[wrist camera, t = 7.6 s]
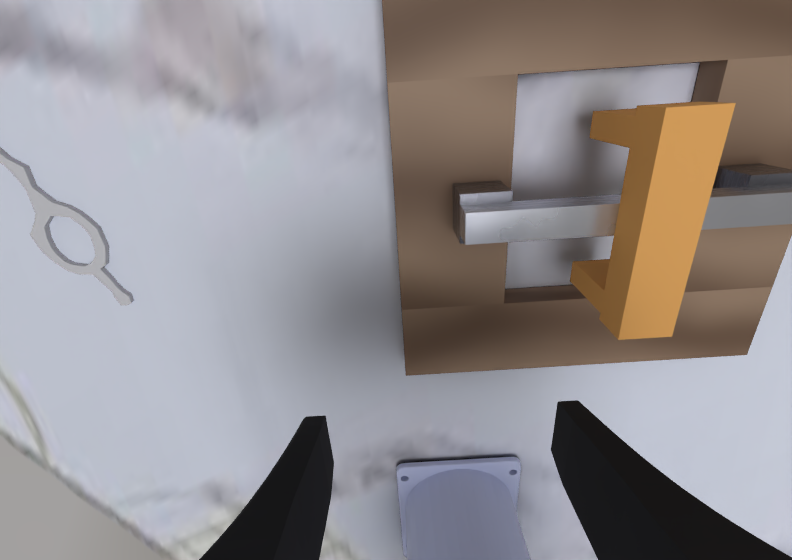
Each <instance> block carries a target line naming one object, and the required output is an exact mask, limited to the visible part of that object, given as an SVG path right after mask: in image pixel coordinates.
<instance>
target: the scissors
mask: <svg viewBox="0 0 792 560" xmlns="http://www.w3.org/2000/svg"><path fill="white" fill-rule="evenodd" d="M0 163H1V164H2V165H4V166H5V167H6V168H7V169H8V170H9V171H10V172H11V173H12V174H13V175H14V176H15V177H16V178H17V180H18V181H19V182H20V183H21V184H22V186H23V187H24V188H25V189H26V192H27V194H28V197H29V199H30V201H31V204H32V206H33V209H34V211H35V213H36V214H35V222H34V225H33V228H32V231H31V234H30V236H31V237H32V239H33V240H34V241H35V243H36V244H37V246H38V247H39V248H40V250H41V251H42V252H43V253H44V254H45V255H46V256H47V257H49V258H50V259H51V260H52V261H53V262H55V263H56V264H58V265H59V266H61V267H62V268H64V269H65V270H67V271H70V272H73V273H76V274H84V275H94V276H95V277H96V278H97V279H98V280H99V281H100V282H101V283H103V284H104V285H105V286H106V287H107V288H108V289H109V290H110V291H111V292H112V293H113V295H114V297H115V298H116V300H117V301H118V302H119V303H120V305H129V304H130V303H132V302H133V301H134V299H133V296H132V294H131V293H130V292H128V291H127V290H125V289H124V288H123V287H122V286H121V285H120V284H119V283H118V282H117V281H116V279H115V278H114V277H113V276H112V275H111V274H110V273H109V272H108V271H107V270H106V269H105V268H104V266H105V265H107V264H108V263H109V244H108V242H107V240H106V238H105V235H104V233H103V231H102V229H101V227H100V226H99V225H98V224H97V223H96V222H95V221H94V220H93V219H91V218H90V217H89V216H88V215H86V214H85V213H84V212H82V211H81V210H79V209H77V208H75V207H73V206H71V205H68V204H65V203H62V202H59V201H56V200H55V199H54V198H52V197H51V196H50V195H49V194H47V193H46V192H45V191H43V190H42V189H41V188H40V187H38V186H37V184H36V182H35V180H34V177H33V175H32V172H31V170H30V167H29V166H27V165H26V164H24V163H22V162H20V161H18V160H16V159H14V158H12V157H11V156H10V155H9V154H7V153H6V152H5V151H4V150H3V149H2V148H1V147H0ZM54 216H59V217H70V218H71V219H73V220H74V221H75V222H77V223H78V224H80V225H81V226H82V227H83V228H84V229H85V230H86V231H87V233H88V234H89V236H90V237H91V240H92V242H93V245H94V249H95V258H94V260H93V261H92V262H91V263H90V264H82V263H76V262H73V261H71V260H69V259H68V258H67V257H65V256H64V255H63V254H62V253H61V252H60V251H59V250H58V248H57V247H56V245H55V243H54V241H53V239H52V237H51V233H50V228H49V224H50V222H51V221H52V219H53V217H54Z"/></svg>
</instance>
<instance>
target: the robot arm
mask: <svg viewBox="0 0 792 560" xmlns="http://www.w3.org/2000/svg"><path fill="white" fill-rule="evenodd" d="M551 451H552V454H553V457H554V461H555V464H556V467H557V470H558V473H559V475H560V478H561V481H562V484H563V486H564V488H565V490H566V493H567V495H568V497H569V499H570V501H571V503H572V505H573V507H574V510H575V512H576V514H577V516H578V518H579V520H580V522H581V524H582V526H583V529H584V531H585V533H586V535H587V537H588V539H589V541H590V543H591V545H592V548H593V550H594V552H595V554H596V556H597V558H598V560H792V557H790V556H788V555H786V554H785V553H783V552H781V551H780V550H778V549H776V548H774V547H773V546H771V545H769V544H767V543H766V542H764V541H762V540H761V539H759V538H757V537H756V536H754V535H752V534H751V533H749V532H748V531H746V530H744V529H743V528H741V527H739V526H738V525H736V524H734V523H733V522H731V521H730V520H728V519H727V518H725V517H724V516H722V515H720V514H719V513H717V512H716V511H714V510H713V509H711V508H710V507H709V506H707V505H706V504H704V503H703V502H701V501H700V500H698V499H697V498H695V497H694V496H693V495H691V494H690V493H688V492H687V491H685V490H684V489H683V488H681V487H680V486H679V485H677V484H676V483H675V482H673V481H672V480H671V479H669V478H668V477H667V476H665V475H664V474H663V473H662V472H660V471H659V470H658V469H656V468H655V467H654V466H653V465H651V464H650V463H649V462H648V461H646V460H645V459H644V458H643V457H641V456H640V455H639V454H638V453H637V452H636V451H634V450H633V449H632V448H631V447H630V446H628V445H627V444H626V443H625V442H624V441H623V440H621V439H620V438H619V437H618V436H617V435H616V434H615V433H613V432H612V431H611V430H610V429H609V428H608V427H607V426H606V425H604V424H603V423H602V422H601V421H600V420H599V419H598V418H597V417H596V416H594V415H593V414H592V413H591V412H590V411H589V410H588V409H587V408H586V407H584V406H583V405H582V404H581V403H580V402H579V401H561V402H558V404H557V411H556V418H555V425H554V433H553V440H552V447H551ZM333 467H334V461H333V455H332V450H331V444H330V438H329V433H328V427H327V422H326V416H312V417H305V418H304V419H303V421H302V422H301V424H300V426H299V428H298V429H297V431H296V433H295V435H294V436H293V438H292V440H291V441H290V443H289V445H288V446H287V448H286V449H285V451H284V453H283V454H282V456H281V457H280V459H279V460H278V462H277V463H276V465H275V466H274V468H273V469H272V471H271V472H270V474H269V475H268V477H267V478H266V480H265V481H264V482H263V484H262V485H261V486H260V488H259V489H258V490H257V492H256V493H255V494H254V496H253V497H252V499H251V500H250V501H249V503H248V504H247V505H246V506H245V508H244V509H243V510H242V511H241V513H240V514H239V515H238V516H237V518H236V519H235V520H234V521H233V523H232V524H231V525H230V526H229V527H228V528H227V530H226V531H225V532H224V533H223V534H222V535H221V537H220V538H219V539H218V540H217V541H216V542H215V543H214V544H213V545H212V546H211V547H210V549H209V550H208V551H207V552H206V553H205V554H204V555H203V556H202V557H201V558H200V559H199V560H319V557H320V552H321V546H322V541H323V536H324V531H325V526H326V521H327V515H328V510H329V505H330V499H331V491H332V480H333ZM520 472H521V463H520V460H519V459H518V458H516V457H499V458H482V459H465V460H448V461H431V462H414V463H402V464H399V465H398V466H397V468H396V474H397V485H398V497H399V508H400V520H401V531H402V543H403V554H404V556H405V557H406V558H408V560H531V559H530V556H529V553H528V549H527V546H526V543H525V540H524V536H523V533H522V530H521V526H520V523H519V520H518V517H517V513H516V512H517V502H518V492H519V482H520Z"/></svg>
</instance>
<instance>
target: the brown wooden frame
mask: <svg viewBox="0 0 792 560" xmlns="http://www.w3.org/2000/svg"><path fill="white" fill-rule="evenodd" d="M382 7H383V23H384V38H385V54H386V70H387V86H388V102H389V117H390V133H391V149H392V165H393V180H394V196H395V212H396V228H397V244H398V259H399V275H400V291H401V307H402V323H403V338H404V354H405V370H406V376H407V375H423V374H439V373H456V372H472V371H489V370H505V369H521V368H538V367H554V366H571V365H587V364H603V363H620V362H636V361H653V360H669V359H686V358H702V357H718V356H735V355H747V353H748V350H749V348H750V345H751V342H752V340H753V337H754V334H755V332H756V329H757V326H758V324H759V321H760V318H761V316H762V313H763V310H764V308H765V305H766V302H767V300H768V297H769V294H770V292H771V289H772V286H773V284H774V281H775V278H776V276H777V273H778V270H779V268H780V265H781V262H782V260H783V257H784V254H785V252H786V249H787V246H788V244H789V241H790V238H791V236H792V224H784V225H768V226H753V227H737V228H722V229H706V230H701V232H700V236H699V240H698V243H697V247H696V251H695V254H694V258H693V262H692V265H691V269H690V273H689V276H688V280H687V284H686V287H685V291H684V295H683V298H682V302H681V306H680V309H679V313H678V316H677V320H676V324H675V327H674V331H673V335H672V337H658V338H642V339H625V340H618V339H617V338H616V337H615V336H614V335H613V334H612V333H611V332H610V330H609V329H608V328H607V327H606V326H605V325H604V324H603V323H602V322H601V321H600V320H599V318H600V312H599V311H598V310H597V309H596V308H595V307H594V306H593V305H592V304H591V303H590V302H589V300H588V299H587V298H586V297H585V296H584V295H583V294H582V293H581V292H580V291H579V290H578V289H577V288H576V287H575V286H574V285H565V286H549V287H533V288H517V289H505V279H506V262H507V245H508V242H503V243H487V244H471V245H465V244H460V243H459V241H458V239H457V237H456V234H455V232H454V230H453V183H466V182H481V181H497V180H500V181H501V182H502V183H504V184H505V185H506V186H507V187H509V188H510V189H511V179H512V162H513V146H514V129H515V112H516V96H517V79H518V75H519V74H534V73H548V72H563V71H578V70H593V69H607V68H622V67H637V66H651V65H666V64H681V63H696V62H701V63H700V67H699V72H698V76H697V80H696V85H695V89H694V93H693V98H692V102H724V103H736V104H735V108H734V111H733V115H732V119H731V122H730V126H729V130H728V133H727V137H726V141H725V144H724V148H723V152H722V155H721V159H720V163H719V166H726V165H741V164H756V163H762V164H767V165H772V166H777V167H782V168H787V169H792V0H382Z"/></svg>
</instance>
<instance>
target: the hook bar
mask: <svg viewBox="0 0 792 560" xmlns="http://www.w3.org/2000/svg"><path fill="white" fill-rule="evenodd" d="M512 197H513V191H512V190H511V189H510V188H509V187H507V186H506V185H505V184H504V183H502V182H501V181H500V180H497V181H481V182H466V183H453V230H454V232H455V234H456V237H457V239H458V241H459V243H460V244H465V245H471V244H487V243H503V242H518V241H534V240H550V239H565V238H581V237H597V236H612V235H614V233H615V228H616V222H617V216H618V211H619V205H620V200H621V194H618V195H602V196H587V197H572V198H556V199H541V200H525V201H512ZM784 224H792V169H787V168H782V167H777V166H772V165H767V164H762V163H756V164H741V165H726V166H718V170H717V174H716V177H715V181H714V185H713V188H712V192H711V196H710V199H709V203H708V207H707V210H706V214H705V218H704V221H703V225H702V229H701V230H706V229H722V228H737V227H753V226H768V225H784Z"/></svg>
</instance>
